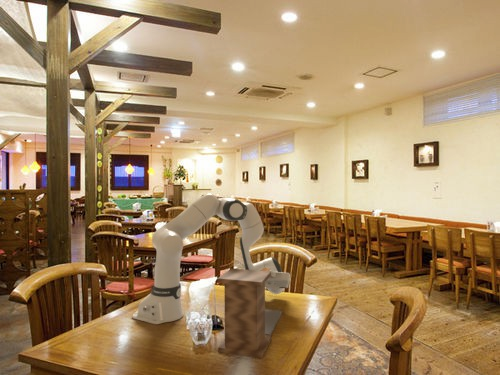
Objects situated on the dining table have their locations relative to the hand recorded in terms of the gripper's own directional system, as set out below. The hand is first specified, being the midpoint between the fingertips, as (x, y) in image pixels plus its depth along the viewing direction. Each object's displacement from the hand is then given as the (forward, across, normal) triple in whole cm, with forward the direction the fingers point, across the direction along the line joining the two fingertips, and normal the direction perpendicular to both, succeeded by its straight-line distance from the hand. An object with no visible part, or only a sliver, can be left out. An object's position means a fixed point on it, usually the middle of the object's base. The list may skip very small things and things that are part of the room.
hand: (265, 272), depth 149 cm
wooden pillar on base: (+16, 0, +31) cm, 35 cm away
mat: (-2, 0, +21) cm, 21 cm away
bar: (+5, 0, +6) cm, 8 cm away
